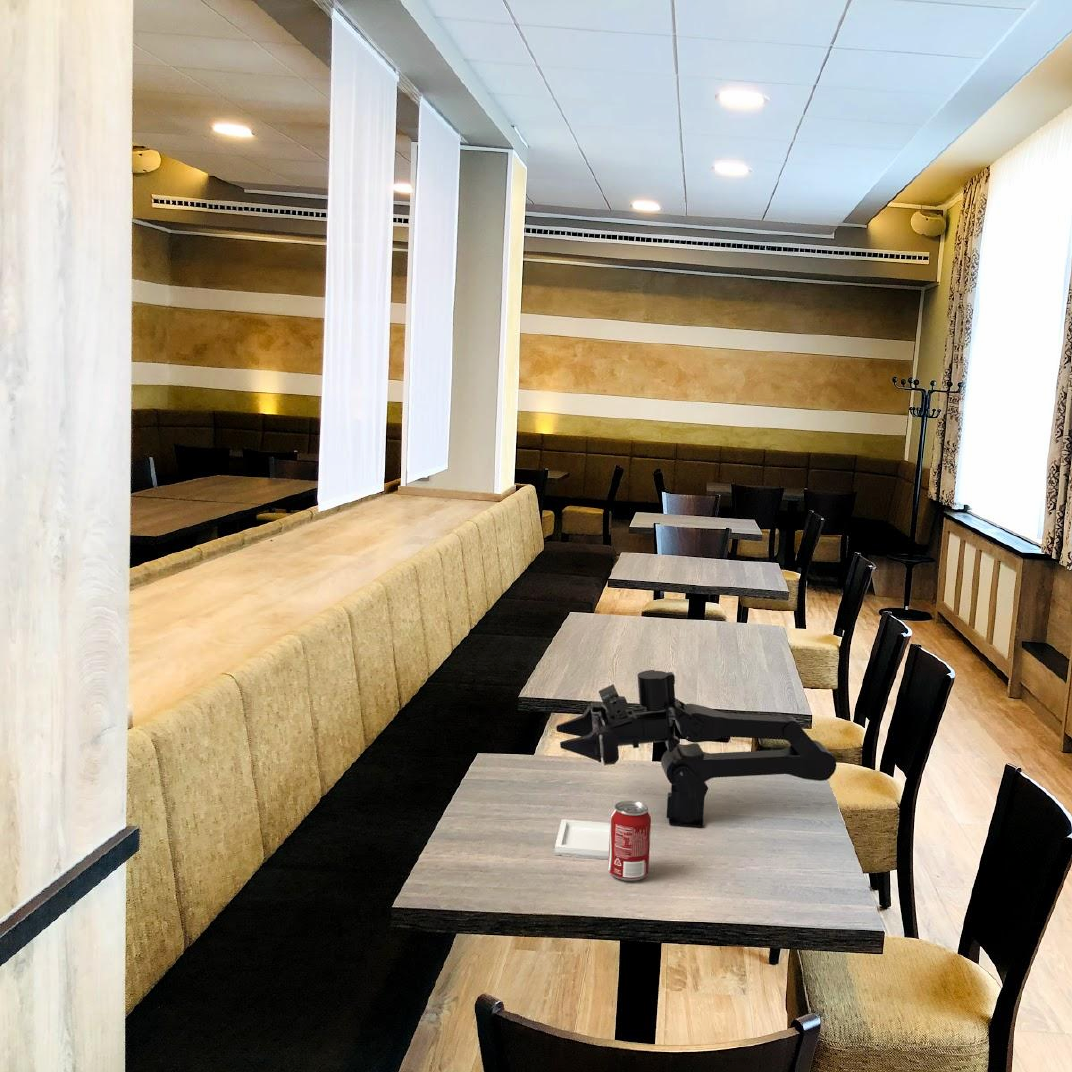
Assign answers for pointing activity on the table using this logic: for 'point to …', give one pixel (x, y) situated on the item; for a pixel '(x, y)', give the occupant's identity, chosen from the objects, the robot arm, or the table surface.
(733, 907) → the table surface
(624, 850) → the soda can
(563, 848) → the tray
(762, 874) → the table surface
